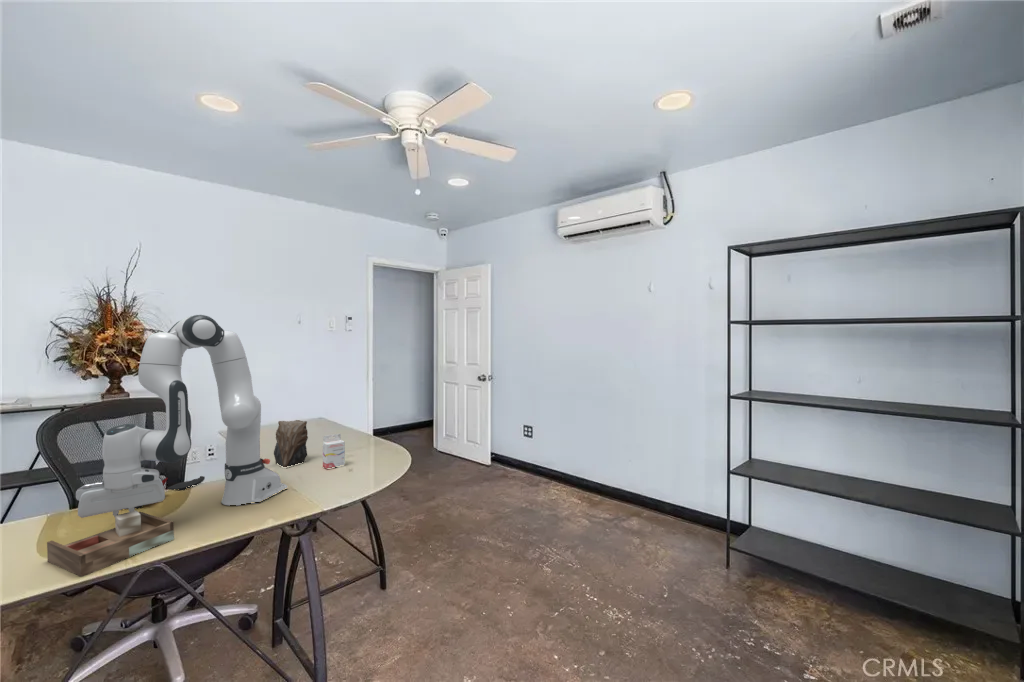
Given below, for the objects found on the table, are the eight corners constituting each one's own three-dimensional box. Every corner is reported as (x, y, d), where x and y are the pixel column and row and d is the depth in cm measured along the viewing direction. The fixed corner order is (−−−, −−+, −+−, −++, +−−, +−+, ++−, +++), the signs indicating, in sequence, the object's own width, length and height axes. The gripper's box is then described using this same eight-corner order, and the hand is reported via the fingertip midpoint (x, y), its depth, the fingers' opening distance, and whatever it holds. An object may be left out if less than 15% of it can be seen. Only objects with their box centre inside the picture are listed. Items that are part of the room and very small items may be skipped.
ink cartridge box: (326, 470, 201) (326, 438, 200) (322, 467, 204) (322, 435, 204) (345, 466, 206) (344, 434, 206) (341, 463, 210) (340, 432, 210)
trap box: (140, 528, 143) (140, 511, 143) (174, 539, 136) (173, 521, 136) (47, 561, 123) (47, 542, 123) (81, 576, 116) (80, 556, 116)
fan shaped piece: (213, 480, 188) (213, 477, 188) (181, 492, 175) (181, 488, 175) (198, 478, 190) (198, 475, 190) (165, 490, 177) (165, 486, 177)
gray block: (136, 526, 138) (136, 510, 138) (141, 530, 135) (140, 514, 135) (115, 531, 134) (115, 515, 134) (119, 536, 131) (119, 520, 131)
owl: (272, 463, 210) (272, 421, 210) (300, 457, 220) (299, 417, 219) (283, 469, 202) (282, 425, 201) (311, 462, 211) (310, 421, 210)
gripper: (74, 489, 127) (76, 536, 128) (164, 473, 141) (166, 516, 141) (76, 483, 132) (77, 529, 133) (163, 468, 146) (164, 510, 146)
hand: (124, 522), depth 137 cm, fingers closed
